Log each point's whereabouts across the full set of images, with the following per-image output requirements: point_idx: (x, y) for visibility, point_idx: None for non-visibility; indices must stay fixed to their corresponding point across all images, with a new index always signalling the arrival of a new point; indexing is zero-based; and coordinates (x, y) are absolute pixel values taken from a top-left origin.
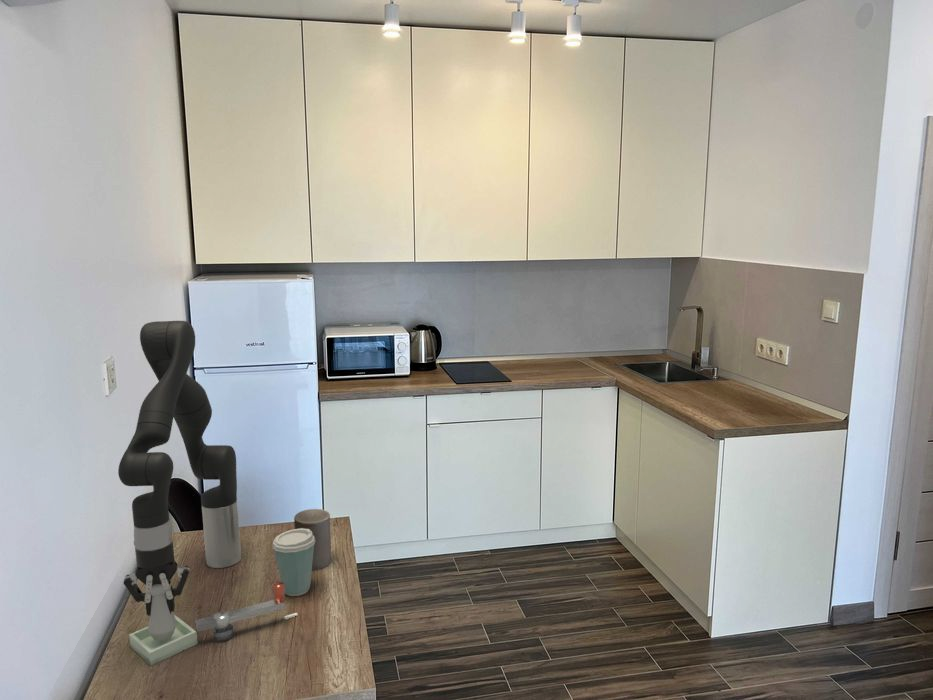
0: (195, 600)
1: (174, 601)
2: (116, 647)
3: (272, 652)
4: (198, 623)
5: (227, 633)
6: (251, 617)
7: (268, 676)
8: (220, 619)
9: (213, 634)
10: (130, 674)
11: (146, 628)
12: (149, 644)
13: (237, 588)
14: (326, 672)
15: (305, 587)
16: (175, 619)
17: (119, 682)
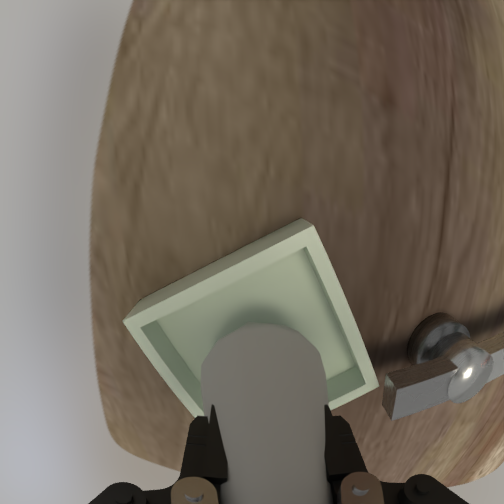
0: (367, 43)
1: (356, 445)
2: (96, 282)
3: (475, 414)
4: (399, 410)
5: None
6: None
7: (437, 467)
8: (459, 402)
9: (416, 363)
10: (175, 429)
11: (186, 302)
12: (208, 346)
13: (480, 55)
14: (490, 454)
15: None
16: (326, 384)
17: (156, 443)
